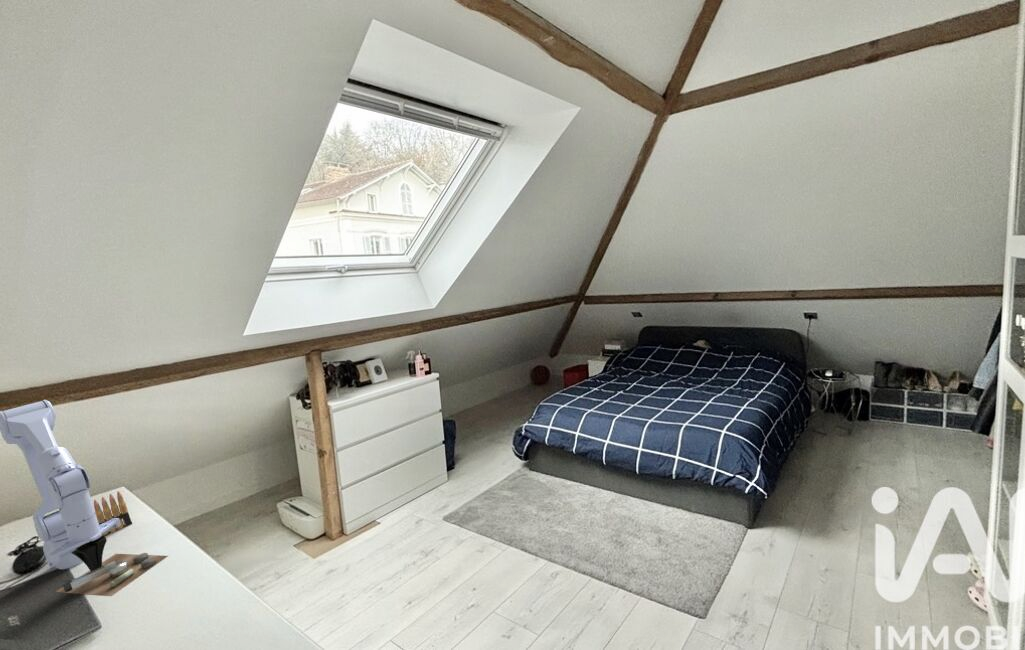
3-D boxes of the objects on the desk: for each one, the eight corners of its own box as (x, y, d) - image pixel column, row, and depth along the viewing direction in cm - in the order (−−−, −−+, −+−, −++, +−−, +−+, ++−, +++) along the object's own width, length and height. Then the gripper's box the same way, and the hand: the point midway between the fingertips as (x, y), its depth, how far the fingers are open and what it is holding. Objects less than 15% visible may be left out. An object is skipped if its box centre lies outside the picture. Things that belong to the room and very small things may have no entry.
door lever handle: (67, 601, 110) (63, 587, 109) (65, 594, 112) (61, 582, 112) (130, 571, 118) (126, 558, 118) (127, 566, 121) (123, 553, 120)
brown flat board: (56, 596, 115) (53, 586, 114) (117, 557, 128) (114, 548, 127) (112, 600, 110) (109, 590, 109) (169, 560, 123) (166, 550, 123)
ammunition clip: (87, 547, 136) (74, 508, 134) (86, 544, 137) (73, 506, 135) (133, 527, 144) (122, 490, 142) (132, 525, 145) (121, 488, 143)
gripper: (57, 537, 107) (74, 591, 110) (123, 502, 121) (137, 550, 123) (35, 537, 109) (53, 590, 112) (102, 502, 123) (117, 550, 125)
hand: (96, 569), depth 118 cm, fingers closed
